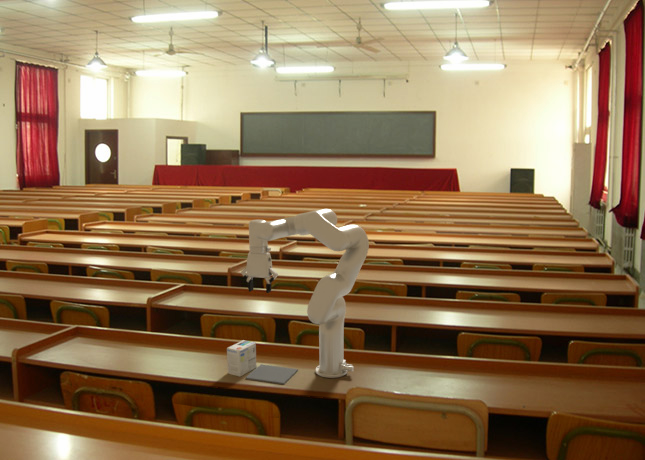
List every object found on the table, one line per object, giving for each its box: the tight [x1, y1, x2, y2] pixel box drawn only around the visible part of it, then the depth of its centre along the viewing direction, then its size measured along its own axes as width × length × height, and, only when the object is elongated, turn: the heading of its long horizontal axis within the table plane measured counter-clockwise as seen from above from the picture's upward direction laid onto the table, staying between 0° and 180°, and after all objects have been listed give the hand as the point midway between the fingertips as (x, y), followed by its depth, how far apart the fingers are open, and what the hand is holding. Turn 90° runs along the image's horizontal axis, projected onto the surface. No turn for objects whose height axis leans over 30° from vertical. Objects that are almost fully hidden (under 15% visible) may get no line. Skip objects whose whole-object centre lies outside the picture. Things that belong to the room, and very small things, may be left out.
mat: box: [245, 363, 299, 385], centre depth 242 cm, size 16×14×1 cm
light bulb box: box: [226, 339, 257, 377], centre depth 245 cm, size 11×7×11 cm, turn 149°
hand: (259, 291), depth 258 cm, fingers open, 7 cm apart
